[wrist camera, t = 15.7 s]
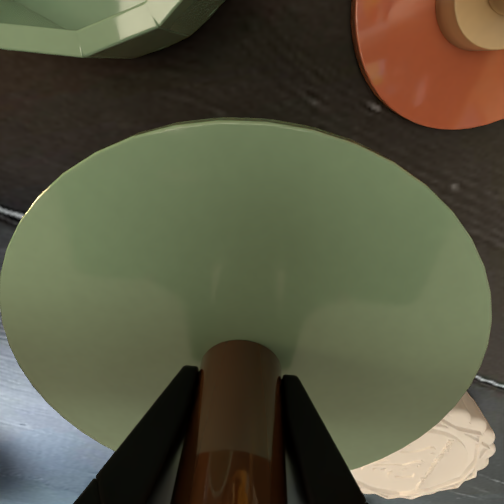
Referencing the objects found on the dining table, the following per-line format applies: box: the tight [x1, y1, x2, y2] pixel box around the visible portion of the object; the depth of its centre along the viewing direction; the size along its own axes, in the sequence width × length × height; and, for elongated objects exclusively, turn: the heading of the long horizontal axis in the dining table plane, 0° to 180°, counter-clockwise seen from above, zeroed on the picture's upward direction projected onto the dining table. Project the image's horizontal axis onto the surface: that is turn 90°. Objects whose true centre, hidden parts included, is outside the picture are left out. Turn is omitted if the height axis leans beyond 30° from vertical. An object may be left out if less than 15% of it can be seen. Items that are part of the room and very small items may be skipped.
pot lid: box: [0, 117, 492, 504], centre depth 8 cm, size 14×14×6 cm
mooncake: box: [350, 391, 496, 499], centre depth 25 cm, size 12×12×4 cm
